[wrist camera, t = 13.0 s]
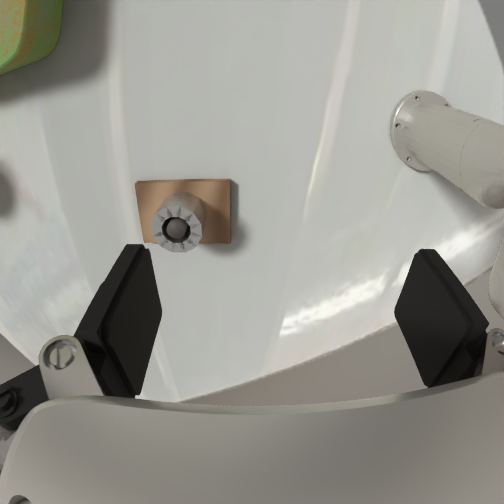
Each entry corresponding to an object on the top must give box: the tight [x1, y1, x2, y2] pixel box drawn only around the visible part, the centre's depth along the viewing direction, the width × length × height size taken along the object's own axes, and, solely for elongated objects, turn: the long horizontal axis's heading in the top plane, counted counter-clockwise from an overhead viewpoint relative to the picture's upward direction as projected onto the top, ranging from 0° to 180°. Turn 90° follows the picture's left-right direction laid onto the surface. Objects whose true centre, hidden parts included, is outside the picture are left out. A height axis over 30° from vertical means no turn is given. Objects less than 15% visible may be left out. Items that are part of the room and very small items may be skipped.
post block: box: [135, 179, 231, 243], centre depth 42 cm, size 14×10×6 cm
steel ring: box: [151, 192, 207, 252], centre depth 42 cm, size 7×7×5 cm
